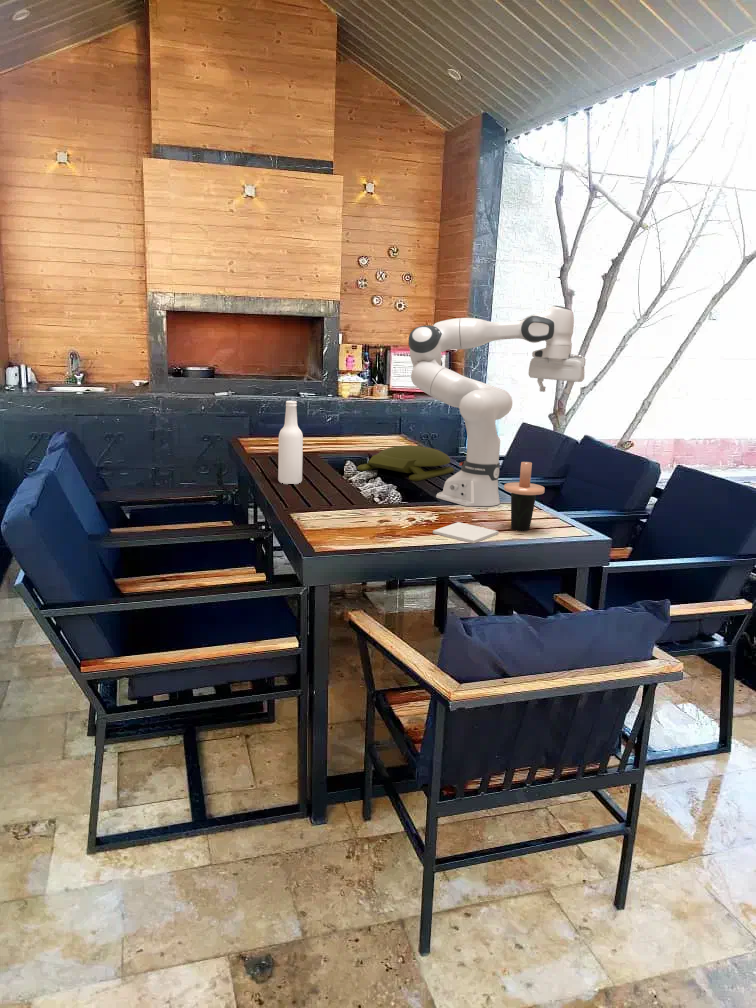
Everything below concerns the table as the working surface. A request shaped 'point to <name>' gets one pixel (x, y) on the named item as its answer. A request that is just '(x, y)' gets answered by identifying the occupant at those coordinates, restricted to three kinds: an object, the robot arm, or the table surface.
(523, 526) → the cup
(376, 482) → the table surface
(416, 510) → the table surface
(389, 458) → the green turtle
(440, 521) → the table surface
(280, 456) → the alcohol
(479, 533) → the mat
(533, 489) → the lid
